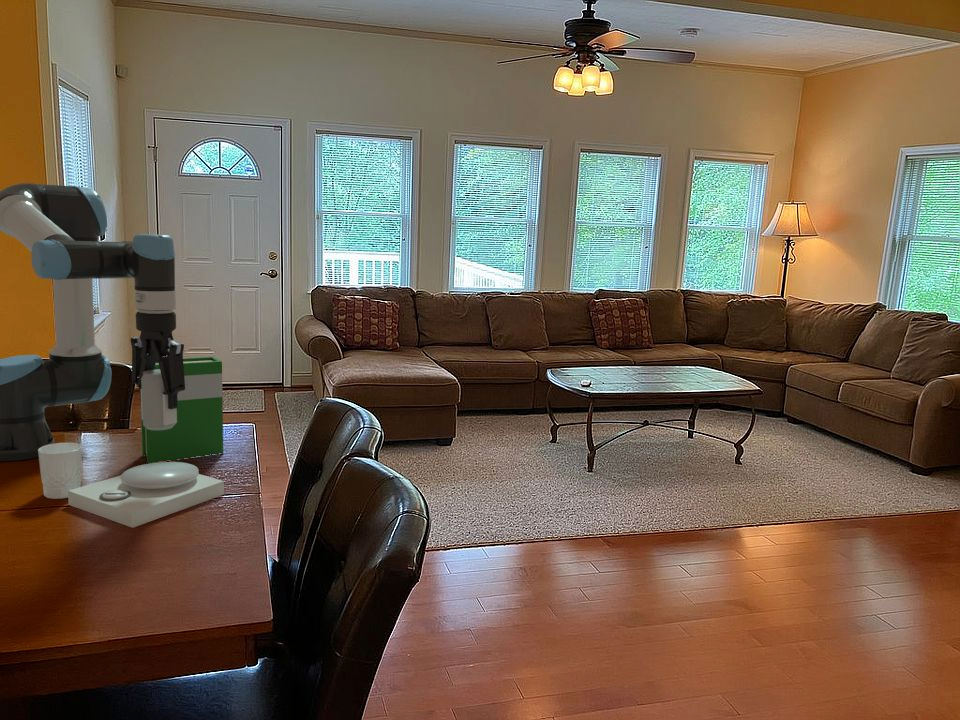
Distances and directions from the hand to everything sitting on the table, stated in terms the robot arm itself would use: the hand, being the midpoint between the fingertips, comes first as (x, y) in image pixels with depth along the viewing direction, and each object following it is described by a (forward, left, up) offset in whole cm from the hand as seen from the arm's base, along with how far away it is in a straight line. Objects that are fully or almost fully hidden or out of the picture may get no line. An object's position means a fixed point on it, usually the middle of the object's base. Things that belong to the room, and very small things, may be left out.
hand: (159, 420), depth 151 cm
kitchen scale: (0, -3, -16) cm, 17 cm away
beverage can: (0, 0, -2) cm, 2 cm away
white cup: (-17, -11, -17) cm, 26 cm away
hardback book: (-19, +21, -17) cm, 33 cm away
